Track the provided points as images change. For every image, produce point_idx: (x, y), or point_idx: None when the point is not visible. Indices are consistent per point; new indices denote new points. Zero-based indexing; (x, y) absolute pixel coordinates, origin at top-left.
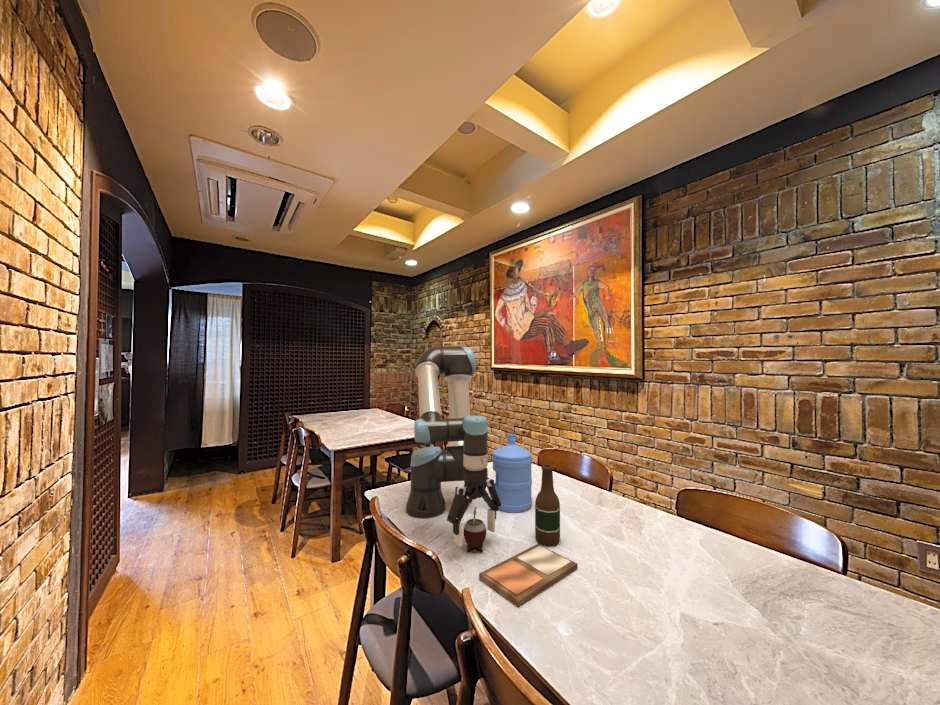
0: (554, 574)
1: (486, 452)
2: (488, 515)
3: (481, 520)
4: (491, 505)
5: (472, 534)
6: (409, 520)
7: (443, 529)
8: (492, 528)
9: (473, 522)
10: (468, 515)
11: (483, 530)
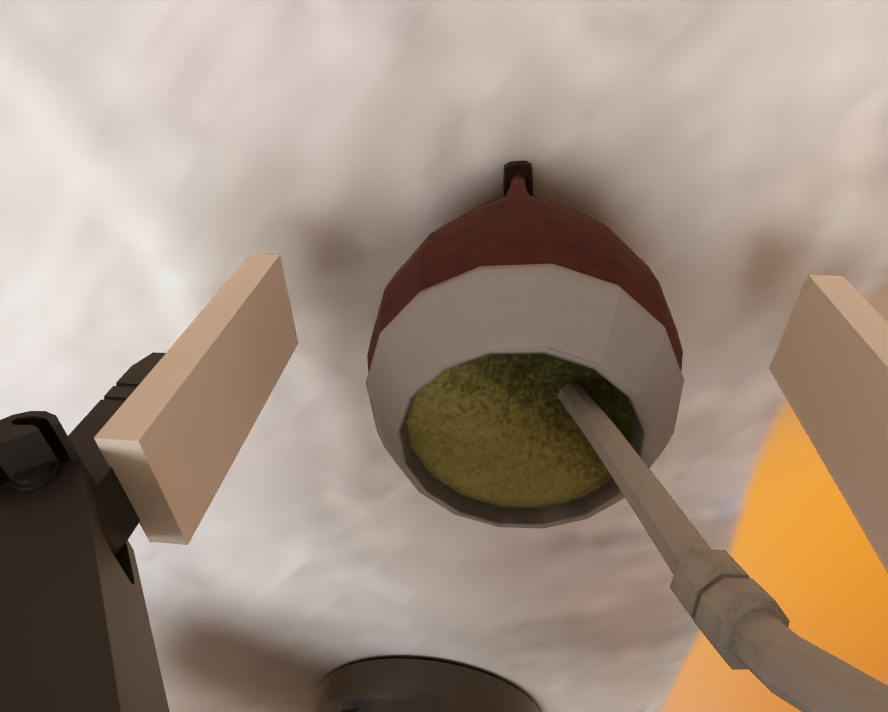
0: None
1: None
2: (222, 452)
3: (396, 428)
4: (97, 570)
5: (665, 308)
6: (580, 700)
7: (501, 566)
8: (265, 290)
9: (623, 440)
10: (245, 576)
11: (492, 265)
